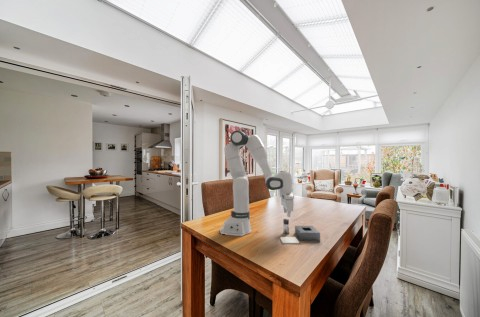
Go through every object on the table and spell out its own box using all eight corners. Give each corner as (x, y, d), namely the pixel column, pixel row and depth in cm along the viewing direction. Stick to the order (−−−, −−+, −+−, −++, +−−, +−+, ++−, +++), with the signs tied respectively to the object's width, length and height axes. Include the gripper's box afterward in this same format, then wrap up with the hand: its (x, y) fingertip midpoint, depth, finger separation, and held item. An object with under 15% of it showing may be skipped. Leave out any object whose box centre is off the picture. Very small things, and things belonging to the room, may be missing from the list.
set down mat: (282, 243, 103) (282, 242, 104) (279, 237, 111) (279, 237, 112) (299, 243, 103) (299, 242, 103) (295, 238, 111) (295, 237, 111)
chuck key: (284, 234, 118) (284, 220, 118) (283, 232, 121) (282, 219, 121) (289, 234, 117) (289, 220, 118) (288, 232, 121) (288, 219, 121)
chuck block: (300, 240, 107) (300, 232, 107) (295, 233, 119) (294, 225, 119) (320, 240, 107) (320, 232, 107) (312, 233, 119) (312, 225, 119)
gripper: (278, 192, 131) (279, 210, 130) (284, 197, 110) (285, 219, 110) (286, 191, 130) (287, 210, 130) (294, 197, 110) (295, 219, 109)
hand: (286, 214), depth 120 cm, fingers open, 8 cm apart
